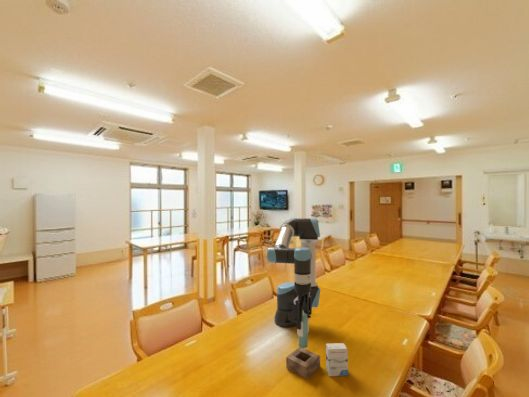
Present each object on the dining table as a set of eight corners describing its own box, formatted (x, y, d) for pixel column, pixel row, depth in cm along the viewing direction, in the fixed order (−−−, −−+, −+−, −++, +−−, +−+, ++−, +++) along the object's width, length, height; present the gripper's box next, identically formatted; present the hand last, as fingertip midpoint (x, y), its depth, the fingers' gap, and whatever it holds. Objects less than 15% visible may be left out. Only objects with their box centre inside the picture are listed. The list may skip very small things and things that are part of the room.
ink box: (344, 368, 115) (344, 342, 115) (348, 376, 110) (348, 348, 110) (325, 368, 115) (325, 342, 115) (328, 376, 110) (328, 349, 110)
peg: (296, 345, 116) (296, 314, 116) (301, 342, 119) (301, 311, 119) (304, 349, 113) (304, 317, 113) (309, 345, 116) (309, 314, 116)
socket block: (286, 368, 116) (286, 357, 116) (299, 356, 124) (299, 346, 124) (307, 379, 108) (307, 367, 108) (320, 366, 117) (319, 355, 117)
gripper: (299, 288, 107) (299, 344, 107) (319, 279, 120) (319, 329, 120) (284, 284, 112) (285, 338, 112) (305, 276, 125) (306, 324, 125)
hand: (302, 333), depth 116 cm, fingers closed on peg, 4 cm apart
